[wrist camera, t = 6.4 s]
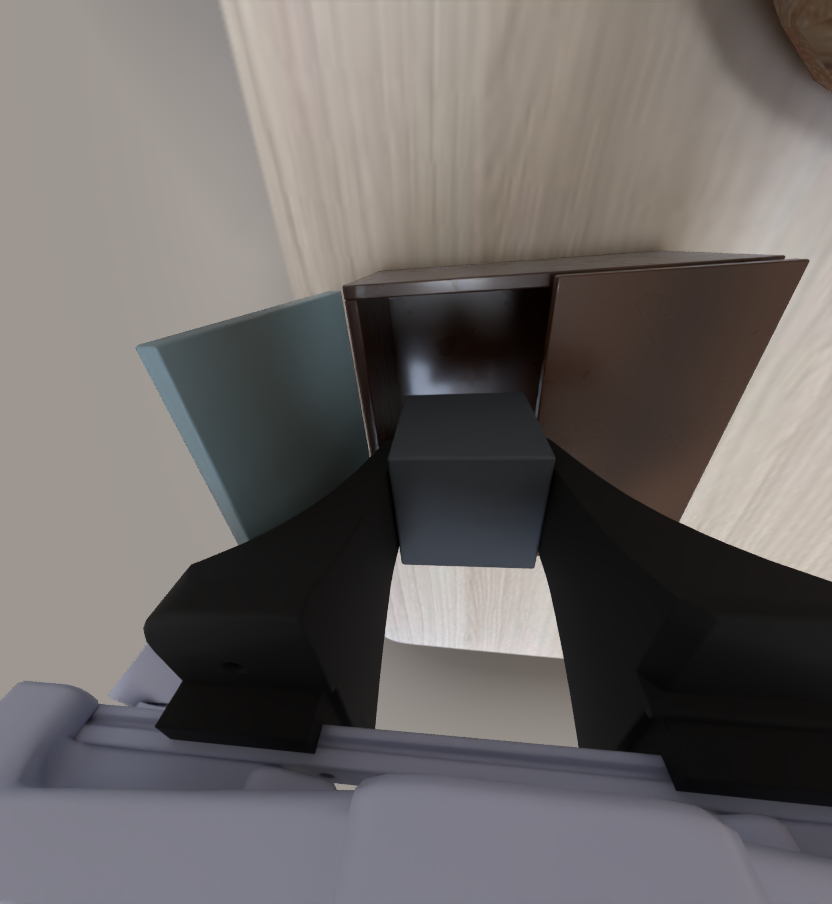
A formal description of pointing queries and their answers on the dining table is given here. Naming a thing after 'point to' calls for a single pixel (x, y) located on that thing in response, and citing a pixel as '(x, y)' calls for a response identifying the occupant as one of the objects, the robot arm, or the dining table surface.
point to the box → (581, 351)
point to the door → (265, 408)
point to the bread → (810, 34)
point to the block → (470, 480)
